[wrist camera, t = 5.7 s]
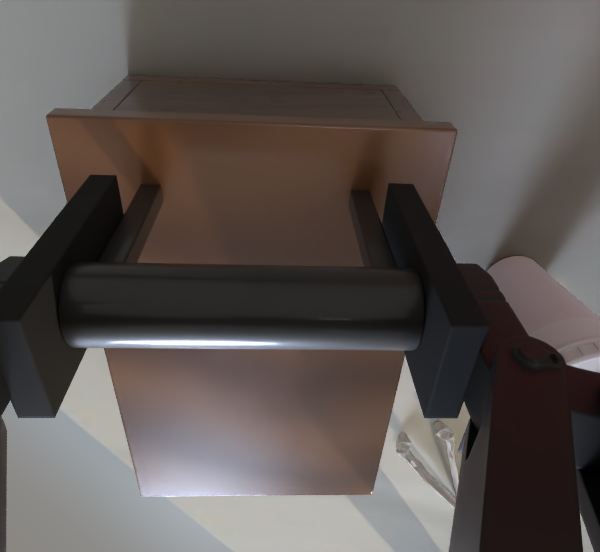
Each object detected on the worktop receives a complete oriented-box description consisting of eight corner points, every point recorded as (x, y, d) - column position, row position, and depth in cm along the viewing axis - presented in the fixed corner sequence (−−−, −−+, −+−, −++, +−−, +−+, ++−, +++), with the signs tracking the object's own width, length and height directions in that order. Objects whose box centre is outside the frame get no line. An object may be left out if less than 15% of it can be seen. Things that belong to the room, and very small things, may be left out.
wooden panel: (54, 107, 15) (-107, 229, 9) (451, 121, 16) (566, 244, 10) (144, 483, 27) (102, 652, 21) (370, 482, 28) (397, 644, 21)
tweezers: (390, 435, 39) (396, 458, 37) (446, 416, 38) (455, 439, 36) (444, 520, 49) (451, 541, 48) (490, 508, 48) (498, 528, 47)
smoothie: (570, 295, 31) (739, 502, 20) (474, 332, 33) (580, 544, 21) (551, 219, 28) (740, 414, 17) (445, 264, 30) (551, 471, 18)
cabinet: (127, 74, 23) (61, 134, 16) (396, 85, 23) (445, 147, 17) (171, 372, 34) (144, 482, 27) (351, 373, 35) (370, 481, 28)
